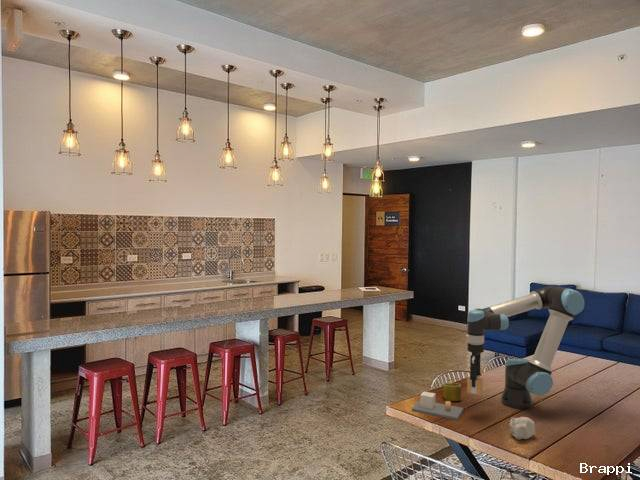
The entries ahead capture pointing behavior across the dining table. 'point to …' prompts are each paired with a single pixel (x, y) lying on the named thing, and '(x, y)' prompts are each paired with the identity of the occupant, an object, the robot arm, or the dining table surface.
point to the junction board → (436, 407)
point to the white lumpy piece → (522, 427)
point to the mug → (452, 391)
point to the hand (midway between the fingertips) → (475, 391)
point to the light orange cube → (479, 386)
